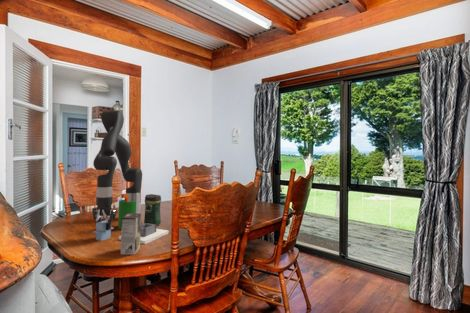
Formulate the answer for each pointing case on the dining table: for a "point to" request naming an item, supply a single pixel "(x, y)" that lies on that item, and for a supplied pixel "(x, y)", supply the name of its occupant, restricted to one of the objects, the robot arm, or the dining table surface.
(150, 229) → the board
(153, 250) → the dining table surface
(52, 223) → the dining table surface
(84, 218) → the dining table surface
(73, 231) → the dining table surface
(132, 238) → the coffee box
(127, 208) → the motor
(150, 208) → the coffee jar
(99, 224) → the block
